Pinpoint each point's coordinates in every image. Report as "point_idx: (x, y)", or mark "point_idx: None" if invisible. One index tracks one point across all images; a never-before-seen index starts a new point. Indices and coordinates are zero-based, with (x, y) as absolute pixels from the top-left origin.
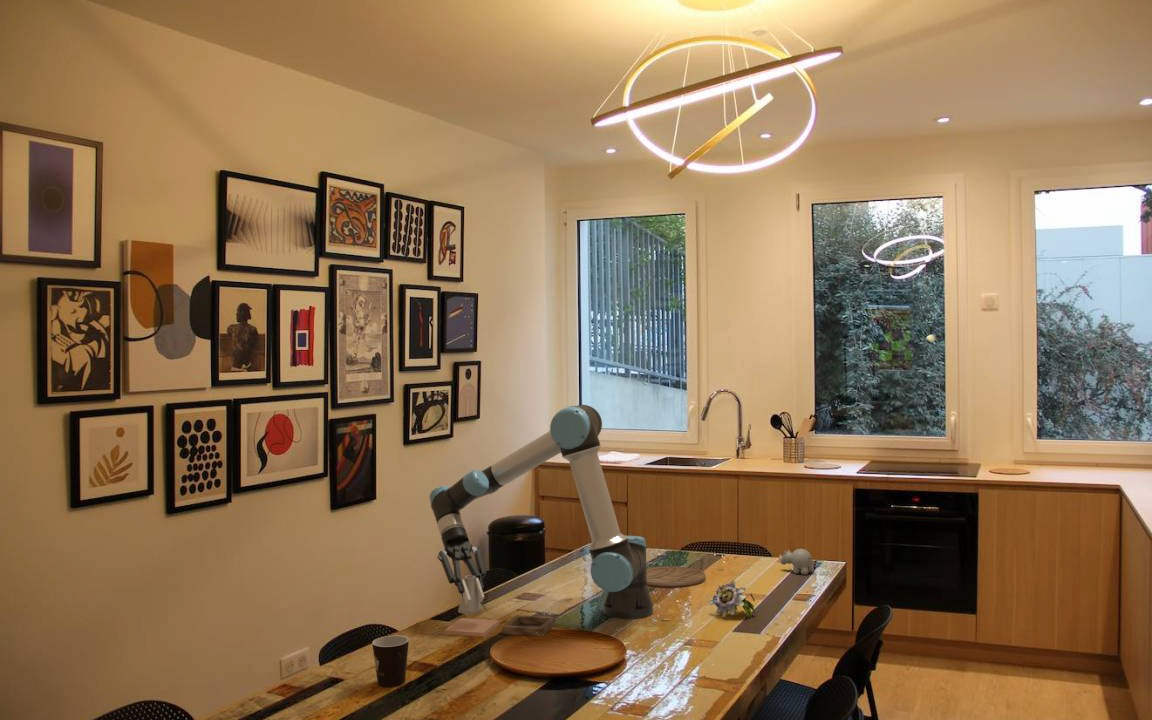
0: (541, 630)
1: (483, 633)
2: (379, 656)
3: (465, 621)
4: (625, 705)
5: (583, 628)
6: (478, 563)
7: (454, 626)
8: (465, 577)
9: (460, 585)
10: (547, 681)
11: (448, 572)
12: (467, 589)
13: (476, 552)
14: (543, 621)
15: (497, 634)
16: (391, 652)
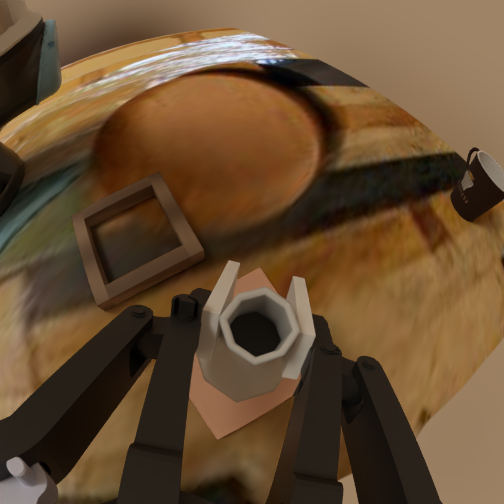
0: (160, 175)
1: (259, 268)
2: (495, 178)
3: (229, 400)
4: (279, 46)
5: (82, 171)
6: (102, 390)
7: (287, 380)
8: (292, 332)
9: (322, 332)
10: (302, 86)
11: (392, 401)
12: (296, 298)
13: (33, 458)
14: (90, 235)
15: (216, 264)
16: (487, 162)
